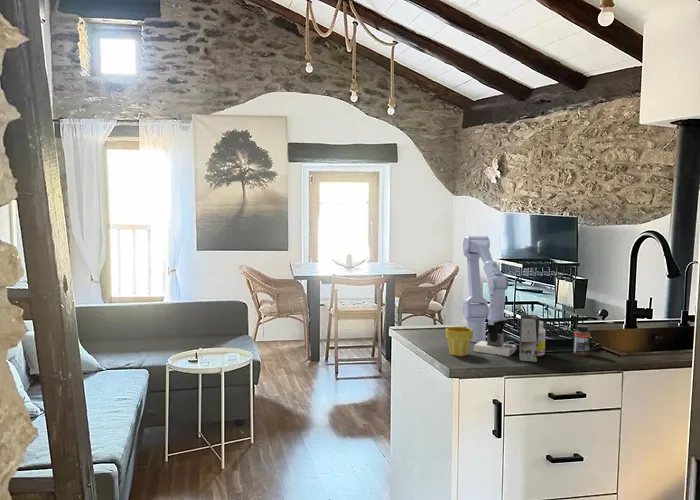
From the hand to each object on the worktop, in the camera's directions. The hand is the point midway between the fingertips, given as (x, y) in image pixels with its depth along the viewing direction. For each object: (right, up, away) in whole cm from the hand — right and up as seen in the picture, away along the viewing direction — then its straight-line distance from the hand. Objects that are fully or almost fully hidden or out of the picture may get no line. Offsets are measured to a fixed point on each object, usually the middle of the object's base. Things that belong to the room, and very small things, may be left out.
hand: (495, 340), depth 261 cm
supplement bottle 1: (+15, -5, -3) cm, 16 cm away
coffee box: (+10, -6, -10) cm, 15 cm away
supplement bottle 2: (+33, -6, -1) cm, 34 cm away
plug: (0, -4, 0) cm, 4 cm away
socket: (0, -4, 0) cm, 4 cm away
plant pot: (-15, -5, -6) cm, 17 cm away
